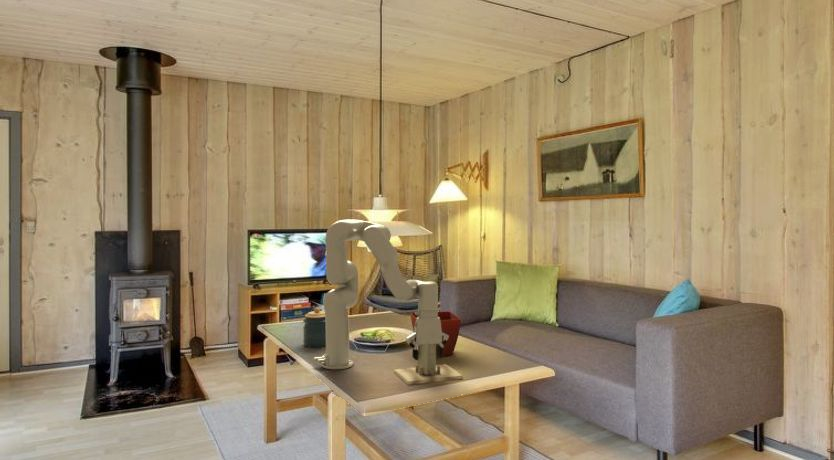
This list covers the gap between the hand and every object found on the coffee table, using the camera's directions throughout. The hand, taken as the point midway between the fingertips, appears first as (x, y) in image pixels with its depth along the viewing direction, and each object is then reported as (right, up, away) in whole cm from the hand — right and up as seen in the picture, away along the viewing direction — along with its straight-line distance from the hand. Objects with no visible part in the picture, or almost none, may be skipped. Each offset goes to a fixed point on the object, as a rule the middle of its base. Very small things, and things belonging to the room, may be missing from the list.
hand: (427, 358), depth 206 cm
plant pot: (+4, -6, +33) cm, 34 cm away
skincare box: (0, -6, 0) cm, 6 cm away
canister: (-51, -5, +48) cm, 71 cm away
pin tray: (0, -7, 0) cm, 7 cm away
